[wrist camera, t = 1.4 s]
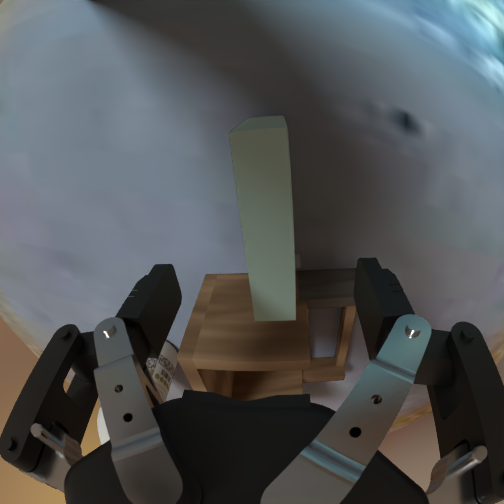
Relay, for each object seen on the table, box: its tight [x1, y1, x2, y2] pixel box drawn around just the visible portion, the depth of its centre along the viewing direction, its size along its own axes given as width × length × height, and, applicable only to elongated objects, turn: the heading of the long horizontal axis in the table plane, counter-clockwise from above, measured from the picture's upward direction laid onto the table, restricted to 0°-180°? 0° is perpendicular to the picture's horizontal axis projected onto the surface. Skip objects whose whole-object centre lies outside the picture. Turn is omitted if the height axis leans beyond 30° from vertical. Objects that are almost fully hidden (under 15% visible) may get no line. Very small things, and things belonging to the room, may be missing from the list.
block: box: [229, 115, 301, 321], centre depth 18 cm, size 11×3×9 cm, turn 6°
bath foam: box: [97, 341, 178, 444], centre depth 26 cm, size 7×7×20 cm
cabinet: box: [176, 268, 357, 401], centre depth 25 cm, size 14×14×10 cm
